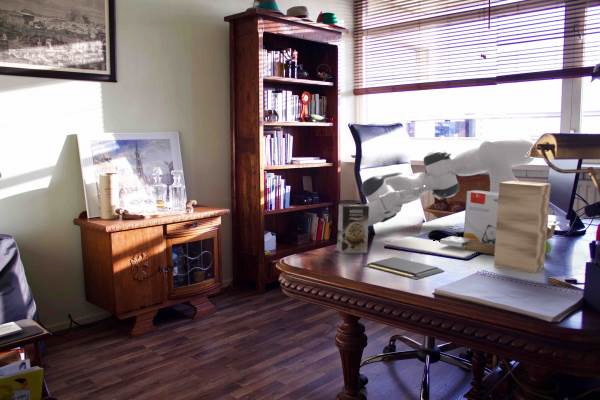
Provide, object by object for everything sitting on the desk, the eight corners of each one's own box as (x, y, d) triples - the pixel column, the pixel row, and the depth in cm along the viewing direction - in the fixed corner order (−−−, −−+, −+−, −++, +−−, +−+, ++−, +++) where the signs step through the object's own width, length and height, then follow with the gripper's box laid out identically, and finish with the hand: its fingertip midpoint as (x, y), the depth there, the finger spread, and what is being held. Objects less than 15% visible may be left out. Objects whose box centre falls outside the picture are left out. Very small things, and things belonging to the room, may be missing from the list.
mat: (408, 237, 205) (408, 236, 205) (484, 249, 185) (484, 248, 185) (384, 244, 191) (384, 243, 191) (463, 258, 172) (463, 257, 172)
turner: (509, 244, 178) (509, 253, 178) (451, 235, 192) (450, 243, 192) (500, 248, 171) (499, 257, 172) (440, 239, 185) (439, 247, 185)
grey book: (446, 267, 155) (415, 275, 145) (446, 273, 155) (415, 282, 145) (393, 254, 170) (361, 261, 160) (393, 260, 170) (361, 267, 160)
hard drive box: (462, 244, 193) (465, 191, 191) (473, 242, 198) (476, 189, 196) (501, 252, 182) (505, 195, 179) (512, 249, 187) (516, 194, 184)
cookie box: (341, 254, 175) (343, 206, 173) (336, 249, 181) (338, 203, 179) (367, 253, 176) (369, 206, 174) (361, 249, 183) (363, 203, 181)
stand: (504, 260, 170) (510, 180, 167) (544, 266, 162) (550, 183, 159) (493, 265, 163) (499, 182, 159) (534, 273, 155) (541, 185, 151)
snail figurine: (550, 258, 174) (553, 222, 173) (530, 254, 179) (533, 220, 177) (555, 255, 178) (558, 220, 177) (536, 252, 183) (538, 218, 181)
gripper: (407, 208, 209) (436, 193, 200) (380, 213, 193) (409, 198, 185) (400, 193, 210) (429, 179, 202) (373, 198, 195) (402, 182, 186)
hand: (419, 188), depth 193 cm, fingers open, 8 cm apart
